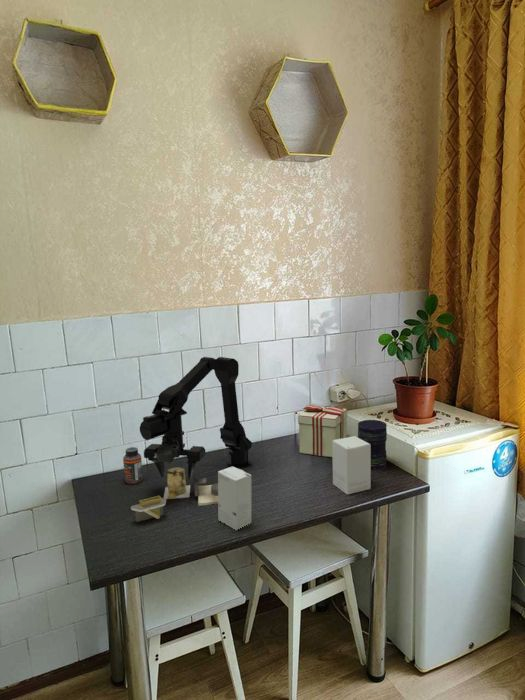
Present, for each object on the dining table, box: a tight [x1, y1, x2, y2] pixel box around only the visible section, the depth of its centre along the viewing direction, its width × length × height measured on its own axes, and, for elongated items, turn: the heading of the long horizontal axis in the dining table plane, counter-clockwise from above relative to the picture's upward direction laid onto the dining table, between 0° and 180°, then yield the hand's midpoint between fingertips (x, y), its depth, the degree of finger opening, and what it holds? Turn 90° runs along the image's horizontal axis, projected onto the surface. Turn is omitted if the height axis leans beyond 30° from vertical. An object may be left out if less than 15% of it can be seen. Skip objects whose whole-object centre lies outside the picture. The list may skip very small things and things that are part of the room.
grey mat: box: [163, 484, 191, 500], centre depth 159 cm, size 8×8×1 cm
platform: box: [130, 495, 167, 523], centre depth 142 cm, size 12×18×7 cm, turn 118°
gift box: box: [297, 403, 348, 458], centre depth 191 cm, size 17×18×17 cm
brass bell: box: [166, 466, 187, 500], centre depth 158 cm, size 10×6×7 cm, turn 166°
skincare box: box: [217, 466, 252, 531], centre depth 138 cm, size 8×6×15 cm
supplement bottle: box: [122, 446, 144, 485], centre depth 168 cm, size 6×6×11 cm
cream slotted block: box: [193, 477, 218, 507], centre depth 156 cm, size 14×12×5 cm
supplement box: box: [331, 435, 372, 495], centre depth 157 cm, size 9×9×15 cm
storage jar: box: [357, 419, 388, 472], centre depth 173 cm, size 10×10×15 cm
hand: (176, 477), depth 158 cm, fingers open, 9 cm apart
